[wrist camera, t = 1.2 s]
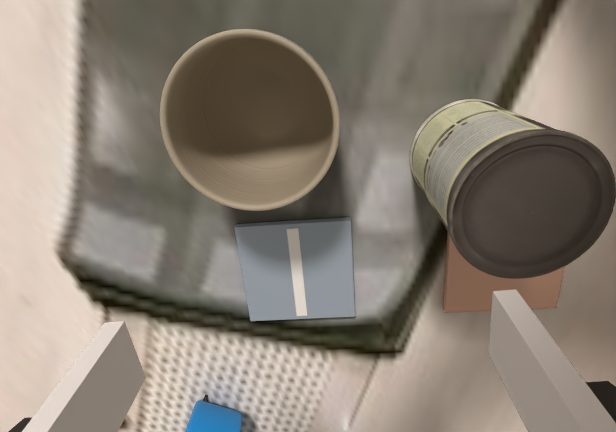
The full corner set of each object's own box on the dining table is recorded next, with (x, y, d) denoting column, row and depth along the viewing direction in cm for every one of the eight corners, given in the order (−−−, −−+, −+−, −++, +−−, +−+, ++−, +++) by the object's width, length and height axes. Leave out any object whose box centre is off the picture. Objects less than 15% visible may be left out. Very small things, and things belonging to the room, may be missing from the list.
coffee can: (533, 102, 37) (644, 138, 24) (502, 206, 41) (583, 285, 28) (419, 92, 37) (470, 124, 24) (400, 198, 41) (434, 273, 28)
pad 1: (235, 224, 43) (234, 227, 42) (350, 217, 42) (350, 220, 41) (251, 316, 48) (250, 321, 47) (354, 312, 47) (355, 316, 46)
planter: (350, 47, 36) (360, 53, 26) (319, 179, 41) (318, 226, 31) (210, 15, 35) (164, 8, 25) (196, 153, 40) (154, 192, 30)
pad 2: (449, 211, 41) (451, 214, 41) (571, 203, 41) (576, 206, 40) (443, 308, 46) (444, 312, 46) (552, 303, 45) (556, 307, 45)
